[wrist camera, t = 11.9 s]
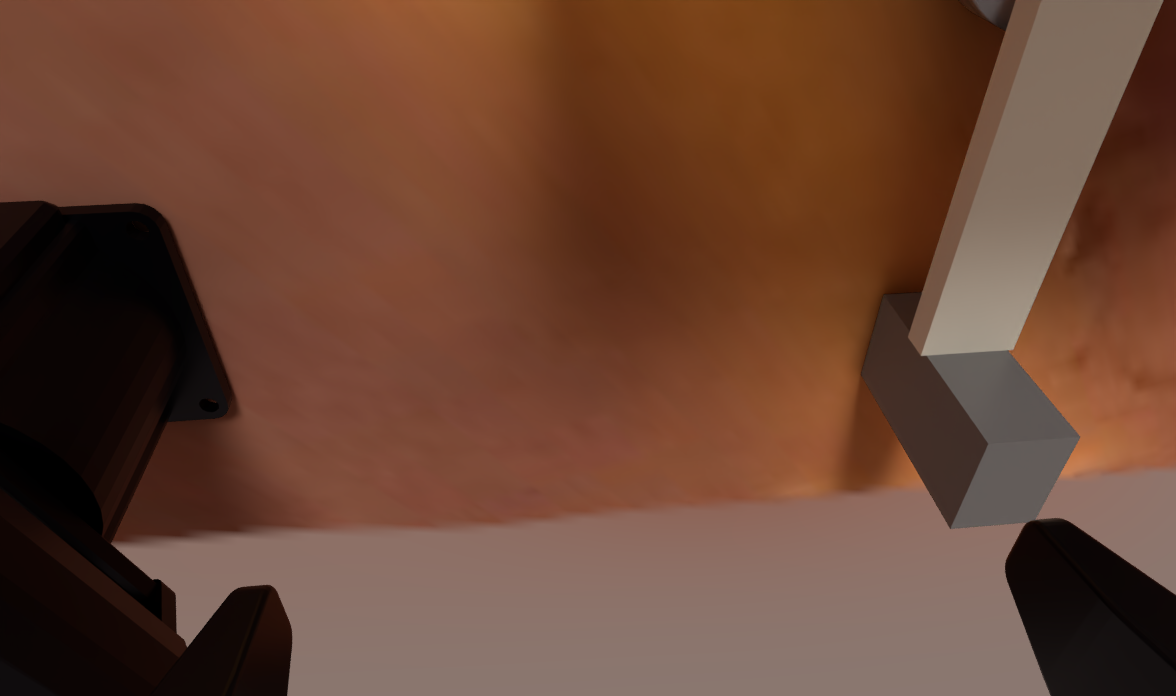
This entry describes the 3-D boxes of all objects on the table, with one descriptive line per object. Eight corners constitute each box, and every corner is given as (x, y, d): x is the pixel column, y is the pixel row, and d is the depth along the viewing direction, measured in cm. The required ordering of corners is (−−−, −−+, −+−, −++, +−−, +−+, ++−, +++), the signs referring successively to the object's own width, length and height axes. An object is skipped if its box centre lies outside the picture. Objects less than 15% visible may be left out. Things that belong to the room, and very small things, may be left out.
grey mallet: (933, 369, 24) (1039, 521, 20) (856, 375, 24) (944, 529, 20) (1165, -279, 15) (1483, -282, 10) (1038, -279, 14) (1302, -283, 10)
